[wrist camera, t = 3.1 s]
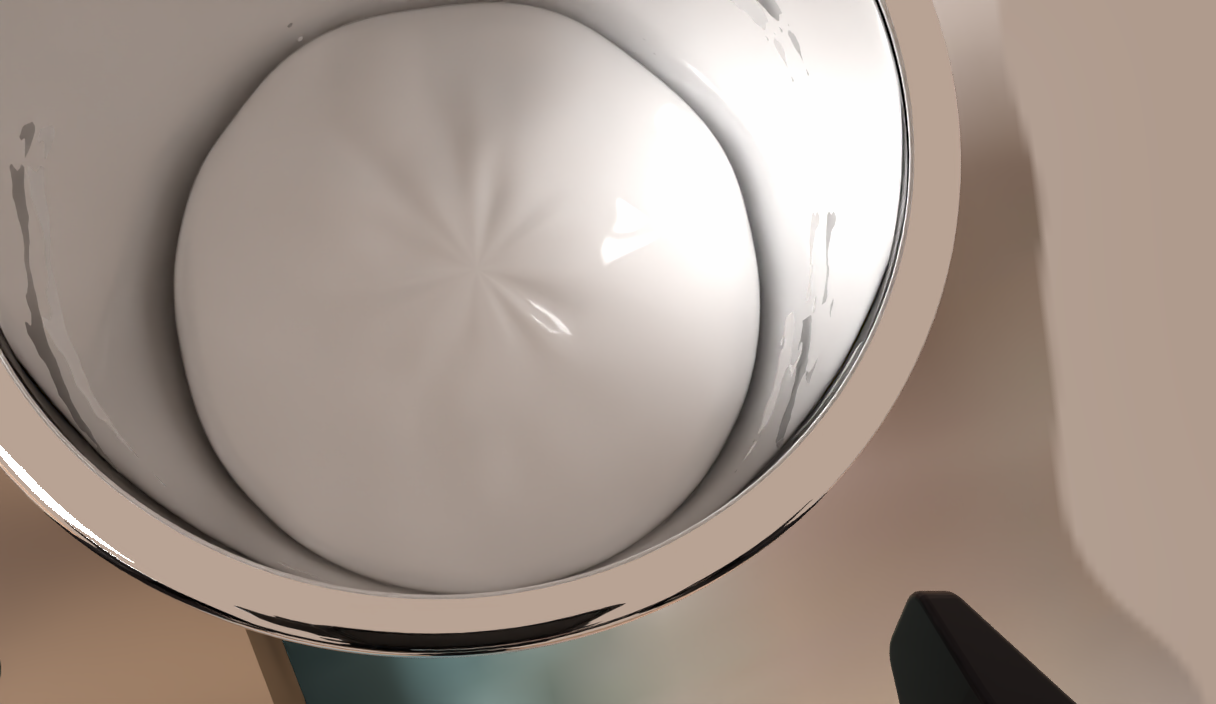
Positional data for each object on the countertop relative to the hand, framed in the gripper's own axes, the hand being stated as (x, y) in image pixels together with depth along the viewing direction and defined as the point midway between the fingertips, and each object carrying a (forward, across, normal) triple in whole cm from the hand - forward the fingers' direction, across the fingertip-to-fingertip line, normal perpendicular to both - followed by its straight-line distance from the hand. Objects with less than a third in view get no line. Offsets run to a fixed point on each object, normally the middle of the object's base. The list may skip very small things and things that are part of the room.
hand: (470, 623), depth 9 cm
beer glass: (+10, 0, +6) cm, 12 cm away
